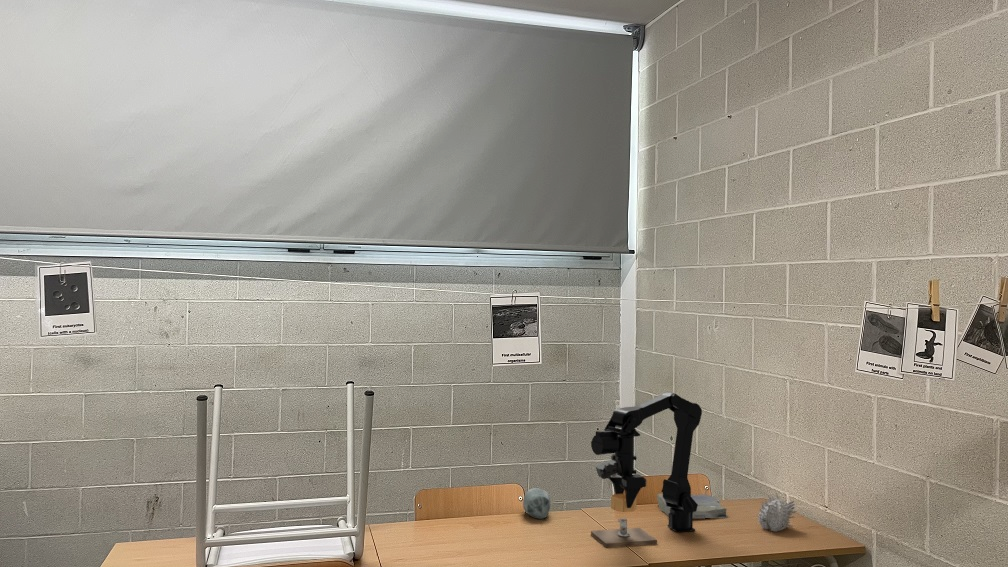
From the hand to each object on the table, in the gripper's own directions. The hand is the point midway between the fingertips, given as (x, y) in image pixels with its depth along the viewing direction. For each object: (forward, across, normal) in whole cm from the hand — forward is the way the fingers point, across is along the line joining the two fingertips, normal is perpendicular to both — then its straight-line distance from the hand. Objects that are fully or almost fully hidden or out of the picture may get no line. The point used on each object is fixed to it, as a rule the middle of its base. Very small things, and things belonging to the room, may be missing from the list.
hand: (623, 504), depth 222 cm
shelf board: (+10, 0, 0) cm, 10 cm away
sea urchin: (+11, 0, +52) cm, 53 cm away
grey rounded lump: (+11, -30, -18) cm, 37 cm away
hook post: (+9, 0, 0) cm, 9 cm away
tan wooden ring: (+1, 0, 0) cm, 1 cm away
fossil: (+11, -24, +36) cm, 44 cm away
